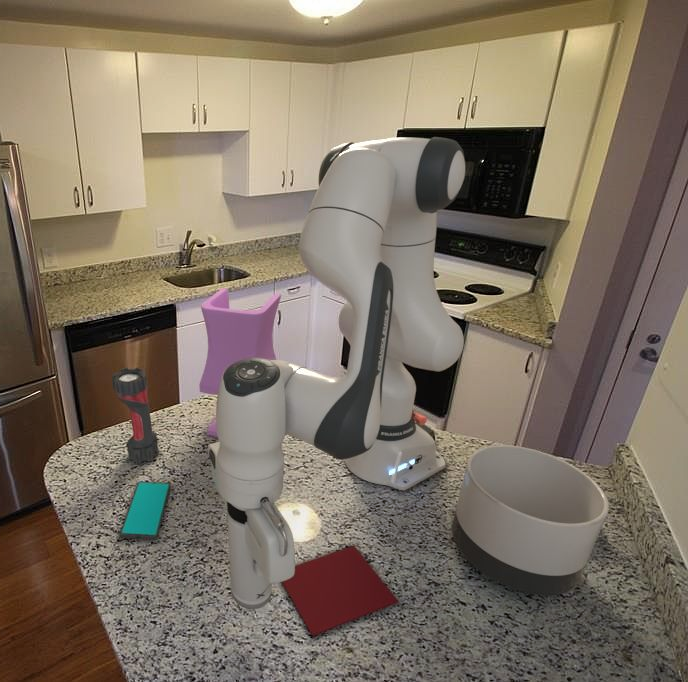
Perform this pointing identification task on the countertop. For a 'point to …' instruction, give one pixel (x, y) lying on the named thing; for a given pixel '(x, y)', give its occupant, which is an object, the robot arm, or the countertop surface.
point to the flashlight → (137, 413)
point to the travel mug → (244, 565)
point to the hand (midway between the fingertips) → (249, 550)
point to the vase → (234, 338)
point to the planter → (528, 518)
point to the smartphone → (146, 511)
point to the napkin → (336, 590)
